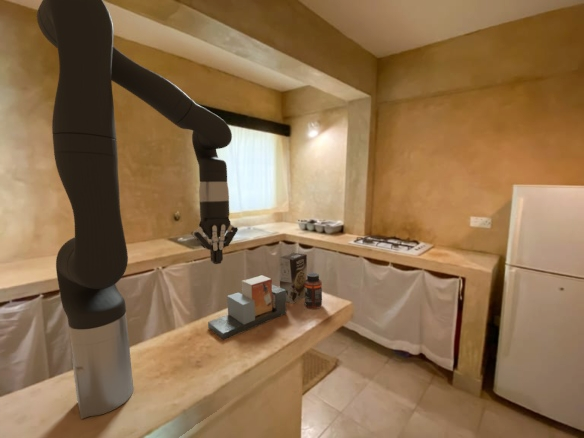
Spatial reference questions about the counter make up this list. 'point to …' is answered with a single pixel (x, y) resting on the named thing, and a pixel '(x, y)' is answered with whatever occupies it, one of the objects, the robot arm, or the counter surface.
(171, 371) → the counter surface
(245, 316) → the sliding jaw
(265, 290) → the small box
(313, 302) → the supplement bottle
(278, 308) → the vise bed
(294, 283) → the coffee box
